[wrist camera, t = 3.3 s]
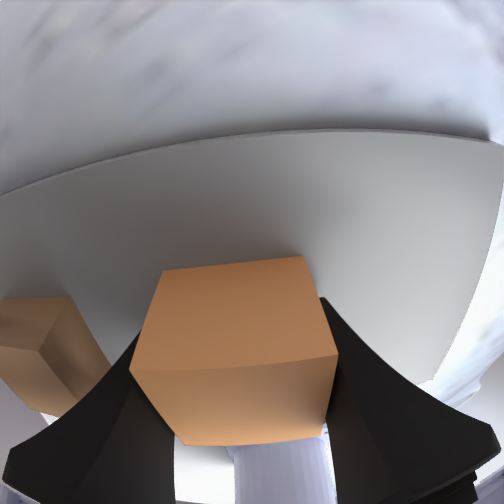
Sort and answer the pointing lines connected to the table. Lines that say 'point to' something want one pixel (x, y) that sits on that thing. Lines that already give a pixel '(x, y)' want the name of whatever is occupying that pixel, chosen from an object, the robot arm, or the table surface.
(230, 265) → the orange brick
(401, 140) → the slate baseplate
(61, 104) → the table surface
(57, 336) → the walnut base brick
